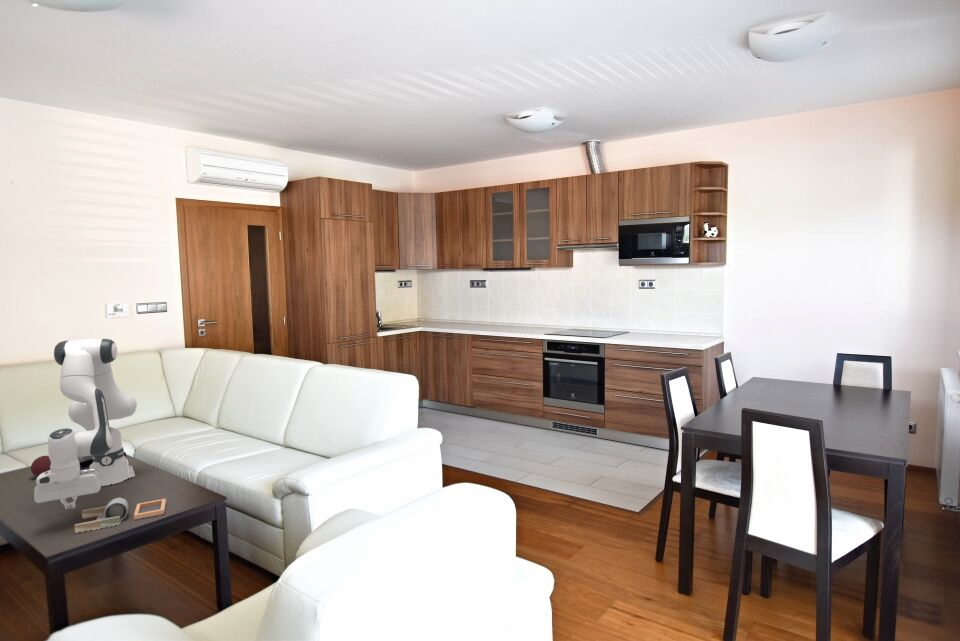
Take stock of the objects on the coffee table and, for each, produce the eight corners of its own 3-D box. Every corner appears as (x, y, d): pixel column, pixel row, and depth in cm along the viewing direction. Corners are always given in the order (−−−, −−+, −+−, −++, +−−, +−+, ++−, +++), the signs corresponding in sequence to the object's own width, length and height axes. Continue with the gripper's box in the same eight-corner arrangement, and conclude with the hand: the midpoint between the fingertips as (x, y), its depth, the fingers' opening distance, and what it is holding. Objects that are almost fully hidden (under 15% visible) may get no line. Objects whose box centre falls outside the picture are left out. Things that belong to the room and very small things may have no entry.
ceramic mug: (129, 511, 225) (127, 493, 224) (128, 519, 218) (126, 500, 217) (97, 519, 220) (95, 500, 219) (95, 527, 213) (92, 507, 212)
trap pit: (137, 508, 228) (137, 503, 228) (166, 503, 232) (165, 498, 232) (134, 520, 217) (133, 515, 217) (164, 514, 221) (163, 509, 221)
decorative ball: (29, 482, 260) (26, 461, 259) (35, 475, 269) (33, 454, 268) (55, 478, 264) (53, 457, 263) (61, 471, 273) (58, 451, 272)
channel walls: (83, 517, 221) (82, 510, 221) (125, 509, 227) (124, 502, 227) (75, 533, 208) (74, 525, 208) (120, 524, 214) (119, 517, 214)
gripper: (100, 464, 220) (104, 498, 222) (35, 475, 211) (39, 510, 213) (97, 470, 214) (101, 505, 216) (30, 481, 205) (35, 517, 207)
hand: (70, 507), depth 214 cm, fingers closed
